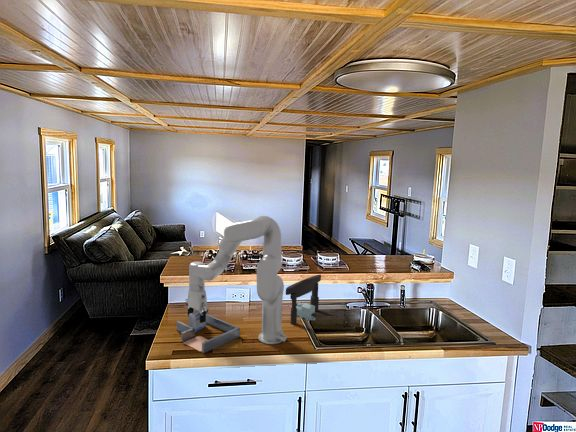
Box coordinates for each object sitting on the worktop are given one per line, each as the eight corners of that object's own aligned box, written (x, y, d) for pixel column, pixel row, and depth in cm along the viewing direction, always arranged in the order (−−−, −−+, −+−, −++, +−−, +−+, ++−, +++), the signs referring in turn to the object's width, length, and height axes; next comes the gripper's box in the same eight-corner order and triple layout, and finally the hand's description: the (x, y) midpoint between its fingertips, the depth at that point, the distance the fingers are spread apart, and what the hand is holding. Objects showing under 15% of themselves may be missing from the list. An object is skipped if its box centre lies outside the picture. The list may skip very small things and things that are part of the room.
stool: (274, 283, 211) (309, 270, 237) (273, 321, 214) (308, 304, 240) (298, 290, 202) (332, 275, 228) (297, 330, 205) (330, 311, 231)
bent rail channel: (239, 336, 196) (239, 327, 196) (203, 353, 179) (203, 343, 179) (202, 320, 214) (202, 312, 213) (166, 333, 197) (166, 325, 196)
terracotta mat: (216, 344, 188) (216, 343, 188) (200, 352, 180) (200, 351, 180) (199, 336, 195) (199, 335, 195) (183, 343, 188) (183, 342, 188)
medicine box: (195, 332, 199) (195, 315, 198) (188, 330, 202) (188, 313, 200) (206, 326, 206) (206, 310, 205) (199, 324, 208) (199, 308, 207)
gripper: (214, 289, 198) (213, 322, 201) (192, 280, 209) (192, 312, 211) (202, 293, 192) (201, 326, 195) (180, 284, 203) (180, 316, 206)
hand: (196, 319), depth 203 cm, fingers open, 9 cm apart
